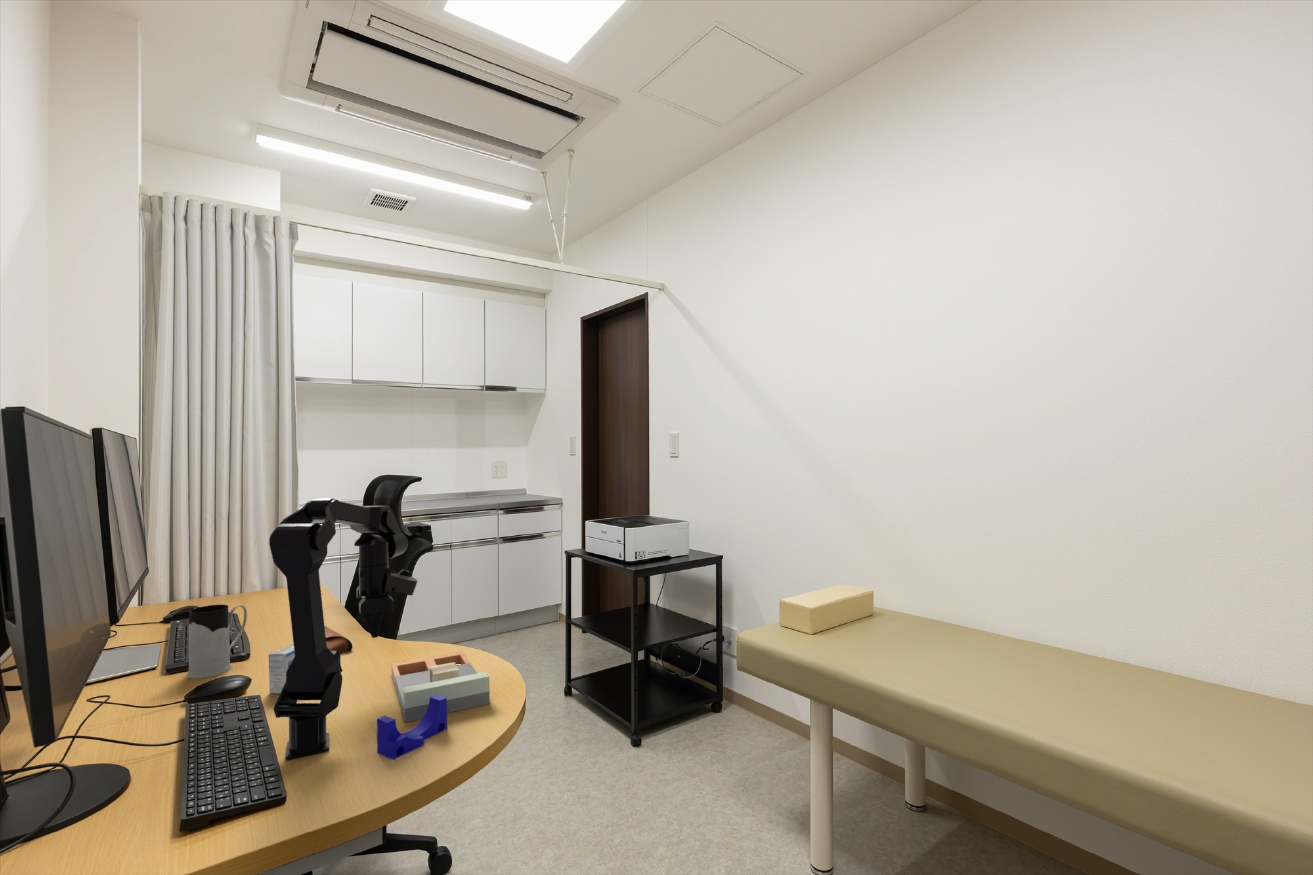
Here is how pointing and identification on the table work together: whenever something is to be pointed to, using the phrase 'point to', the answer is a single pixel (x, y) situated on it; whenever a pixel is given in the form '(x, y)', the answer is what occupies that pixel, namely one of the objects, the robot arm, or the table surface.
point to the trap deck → (450, 703)
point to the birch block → (443, 672)
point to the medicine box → (279, 668)
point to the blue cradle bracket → (402, 743)
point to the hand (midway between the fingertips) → (374, 637)
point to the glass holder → (210, 640)
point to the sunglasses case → (337, 641)
